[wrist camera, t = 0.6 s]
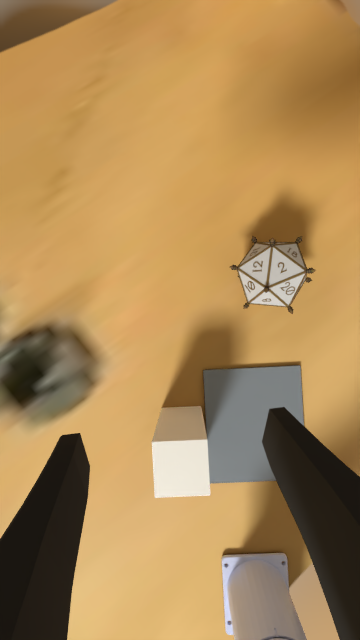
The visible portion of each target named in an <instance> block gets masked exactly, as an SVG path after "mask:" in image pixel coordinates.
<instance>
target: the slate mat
mask: <svg viewBox="0 0 360 640" xmlns="http://www.w3.org/2000/svg"><path fill="white" fill-rule="evenodd" d="M203 376H204V394H205V412H206V431H207V442H208V461H209V479H210V483H232V482H256V481H276V479H275V477H274V474H273V472H272V470H271V467H270V465H269V462H268V459H267V456H266V453H265V450H264V447H263V444H262V439H263V434H264V430H265V426H266V421H267V417H268V412H269V409H272V408H279V407H285V408H286V409H287V410H288V411H289V412H290V413H291V414H292V415H293V416H294V417H295V418H296V419H297V420H298V421H299V422H300V423H301V424H302V425H303V426H304V419H303V402H302V385H301V367H300V365H294V366H274V367H254V368H234V369H214V370H203Z"/></svg>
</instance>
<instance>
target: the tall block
mask: <svg viewBox="0 0 360 640" xmlns="http://www.w3.org/2000/svg"><path fill="white" fill-rule="evenodd" d="M152 453H153V472H154V491H155V498H159V497H184V496H208V495H210V479H209V461H208V442H207V435H206V429H205V424H204V419H203V413H202V408H201V406H188V407H167V408H161V412H160V415H159V419H158V422H157V426H156V429H155V433H154V436H153V440H152Z"/></svg>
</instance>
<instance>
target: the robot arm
mask: <svg viewBox="0 0 360 640" xmlns="http://www.w3.org/2000/svg"><path fill="white" fill-rule="evenodd" d="M262 444H263V447H264V450H265V453H266V456H267V459H268V462H269V465H270V467H271V470H272V472H273V474H274V477H275V479H276V481H277V483H278V485H279V487H280V490H281V492H282V494H283V496H284V498H285V500H286V502H287V504H288V507H289V509H290V511H291V513H292V515H293V517H294V519H295V521H296V524H297V526H298V528H299V530H300V532H301V535H302V537H303V539H304V541H305V544H306V546H307V549H308V551H309V554H310V557H311V559H312V562H313V565H314V567H315V570H316V573H317V575H318V578H319V581H320V584H321V586H322V589H323V592H324V595H325V598H326V601H327V603H328V606H329V609H330V612H331V615H332V617H333V620H334V624H335V626H336V630H337V632H338V636H339V639H340V640H360V477H359V476H358V475H357V474H356V473H354V472H353V471H352V470H351V469H350V468H349V467H347V466H346V465H345V464H344V463H343V462H342V461H341V460H339V459H338V458H337V457H336V456H335V455H334V454H333V453H332V452H331V451H330V450H329V449H327V448H326V447H325V446H324V445H323V444H322V443H321V442H320V441H319V440H318V439H317V438H316V437H315V436H314V435H313V434H312V433H310V432H309V431H308V430H307V429H306V428H305V427H304V426H303V425H302V424H301V423H300V422H299V421H298V420H297V419H296V418H295V417H294V416H293V415H292V414H291V413H290V412H289V411H288V410H287V409H286V408H285V407H279V408H272V409H269V412H268V417H267V421H266V426H265V430H264V434H263V439H262ZM89 473H90V465H89V462H88V458H87V455H86V452H85V448H84V445H83V442H82V438H81V435H80V433H76V434H68V435H62V436H61V437H60V438H59V440H58V442H57V444H56V446H55V448H54V450H53V452H52V454H51V456H50V458H49V460H48V461H47V463H46V465H45V467H44V469H43V470H42V472H41V474H40V476H39V478H38V479H37V481H36V483H35V484H34V486H33V488H32V489H31V491H30V493H29V495H28V496H27V498H26V500H25V501H24V503H23V505H22V506H21V508H20V509H19V511H18V512H17V514H16V516H15V517H14V519H13V520H12V522H11V523H10V525H9V526H8V528H7V529H6V531H5V533H4V534H3V536H2V537H1V539H0V640H67V633H68V623H69V613H70V603H71V593H72V586H73V579H74V572H75V567H76V561H77V555H78V550H79V544H80V538H81V533H82V527H83V521H84V516H85V510H86V504H87V498H88V487H89ZM283 561H284V563H282V562H283ZM226 563H227V565H225V564H226ZM222 575H223V593H224V612H225V629H226V633H227V634H228V635H234V640H307V639H306V636H305V633H304V631H303V628H302V626H301V623H300V621H299V618H298V615H297V613H296V610H295V607H294V605H293V602H292V600H291V597H290V594H289V580H288V563H287V556H286V555H285V554H284V553H265V554H238V555H224V556H223V557H222ZM228 621H230V622H228Z"/></svg>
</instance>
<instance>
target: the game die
mask: <svg viewBox="0 0 360 640" xmlns="http://www.w3.org/2000/svg"><path fill="white" fill-rule="evenodd" d="M252 241H253V242H254V245H253V246H252V248H251V249H250V251H249V252H248V253H247V255H246V256H245V257H244V259H243V260H242V261H241V263H240V264H239V265H238V266H236V265H232V266H230V268H231V269H232V270H237V272H238V275H239V276H238V277H239V278H240V281H241V284H242V287H243V290H244V293H245V296H246V299H247V303H246V304H245V305H244V309H246V308H247V307H248V306H249V304H257V305H268V306H280V307H287V308H288V311H289V312H290V313H291V314H293V309H292V307H291V306H290V305H291V304H292V302H293V300H294V299H295V297H296V295H297V294H298V292H299V290H300V289H301V287H302V285H303V284H304V282H305V281H306V282H308V283H309V282H310V281H312V280H311V278H306V276H307V273H313V272H315V271H316V270H314V269H313V268H309V269H307V267H306V264H305V262H304V259H303V257H302V254H301V251H300V249H299V246H298V243H300V242H301V241H302V236H301V237H298V238H297V239H296V242H275V240H274V239H273V238H272V239H271V240H269V241H270V242H257V239H256V237H253V236H252Z"/></svg>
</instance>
